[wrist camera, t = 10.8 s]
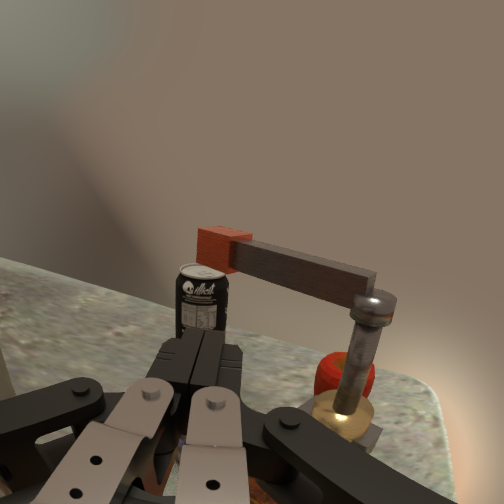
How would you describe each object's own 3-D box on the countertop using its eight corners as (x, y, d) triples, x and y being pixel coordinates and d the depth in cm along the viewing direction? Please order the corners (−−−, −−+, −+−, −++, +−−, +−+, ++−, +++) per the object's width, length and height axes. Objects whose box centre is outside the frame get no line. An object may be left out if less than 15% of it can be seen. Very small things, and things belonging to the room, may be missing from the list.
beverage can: (204, 337, 45) (207, 259, 43) (234, 356, 41) (241, 273, 38) (166, 349, 41) (166, 266, 38) (195, 372, 36) (196, 282, 34)
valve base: (367, 463, 23) (424, 326, 19) (339, 495, 19) (402, 352, 16) (311, 431, 28) (344, 297, 24) (278, 456, 24) (308, 314, 21)
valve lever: (396, 316, 20) (406, 272, 19) (384, 331, 18) (396, 281, 17) (218, 259, 31) (221, 226, 30) (195, 263, 28) (197, 228, 28)
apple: (334, 391, 35) (348, 339, 33) (371, 417, 30) (391, 363, 28) (294, 408, 31) (307, 353, 29) (332, 441, 26) (352, 384, 24)
